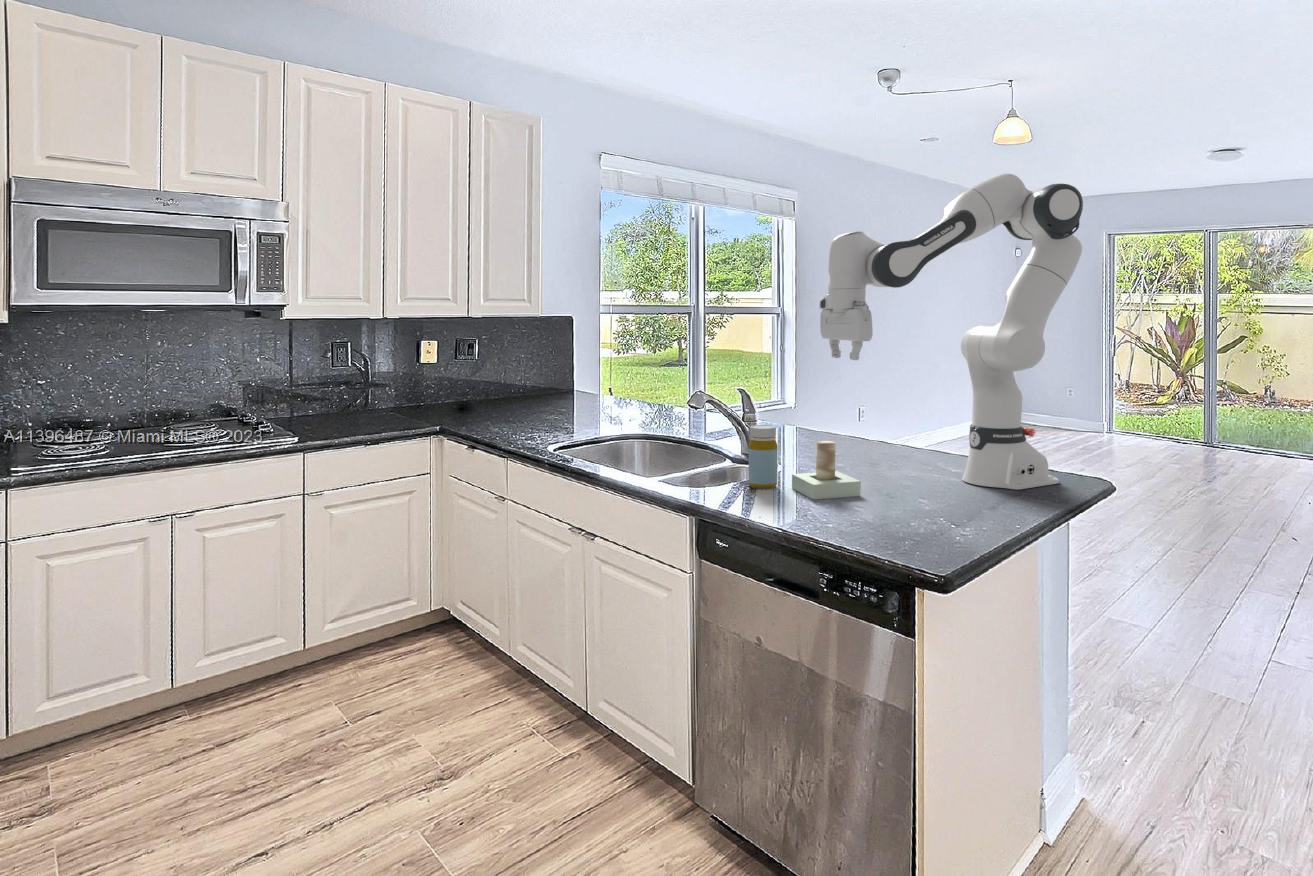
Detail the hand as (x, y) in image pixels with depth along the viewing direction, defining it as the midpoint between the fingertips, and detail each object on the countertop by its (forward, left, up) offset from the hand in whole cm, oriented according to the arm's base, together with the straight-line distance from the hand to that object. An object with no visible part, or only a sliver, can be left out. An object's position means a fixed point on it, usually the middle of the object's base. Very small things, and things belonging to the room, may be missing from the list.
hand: (845, 358), depth 190 cm
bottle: (+20, -3, -31) cm, 37 cm away
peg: (+8, +7, -31) cm, 33 cm away
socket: (+8, +7, -31) cm, 33 cm away
